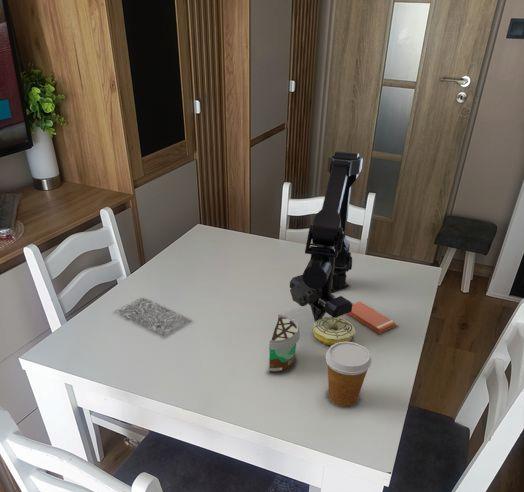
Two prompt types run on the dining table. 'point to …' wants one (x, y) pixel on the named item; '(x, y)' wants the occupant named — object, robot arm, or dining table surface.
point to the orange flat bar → (371, 318)
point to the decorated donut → (333, 330)
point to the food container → (283, 344)
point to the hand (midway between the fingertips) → (317, 321)
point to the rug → (152, 316)
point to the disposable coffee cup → (346, 372)
